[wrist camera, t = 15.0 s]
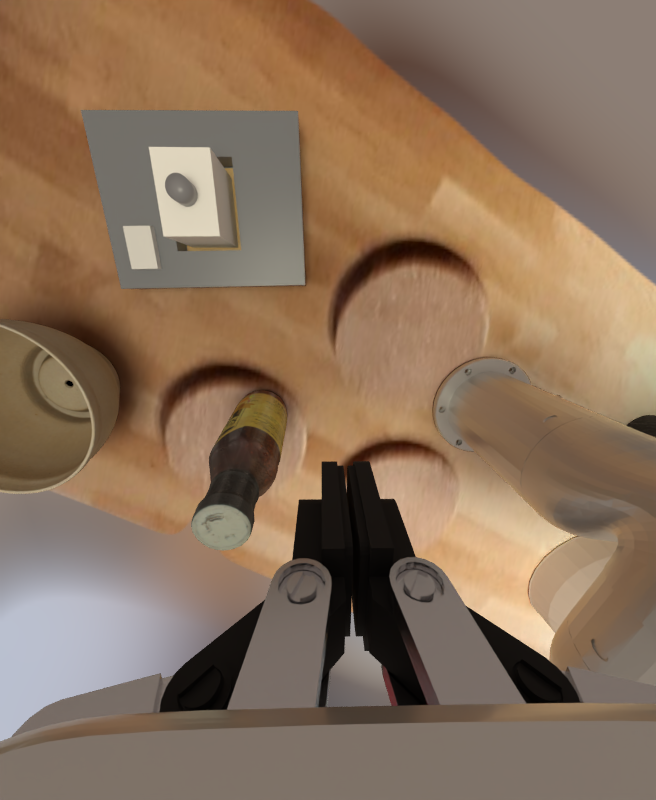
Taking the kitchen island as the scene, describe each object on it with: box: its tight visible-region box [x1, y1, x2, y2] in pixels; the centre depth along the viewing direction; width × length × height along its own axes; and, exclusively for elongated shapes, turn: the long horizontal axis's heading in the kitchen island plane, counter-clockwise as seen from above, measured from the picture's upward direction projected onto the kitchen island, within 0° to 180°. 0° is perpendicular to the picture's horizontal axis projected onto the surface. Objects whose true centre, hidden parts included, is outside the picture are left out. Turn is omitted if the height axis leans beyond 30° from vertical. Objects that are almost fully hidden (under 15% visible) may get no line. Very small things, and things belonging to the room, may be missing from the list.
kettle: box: [529, 536, 618, 633], centre depth 44 cm, size 20×21×18 cm
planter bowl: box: [0, 319, 120, 494], centre depth 32 cm, size 16×16×11 cm
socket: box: [81, 110, 306, 289], centre depth 30 cm, size 18×14×4 cm
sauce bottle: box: [191, 390, 287, 550], centre depth 30 cm, size 7×6×20 cm
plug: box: [149, 147, 238, 248], centre depth 27 cm, size 4×6×9 cm
